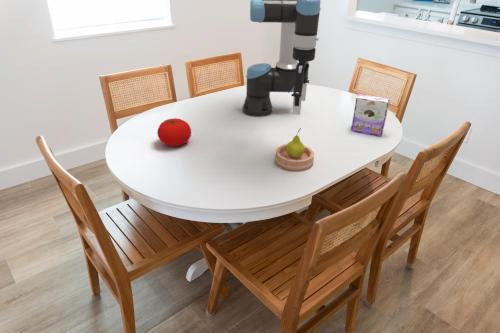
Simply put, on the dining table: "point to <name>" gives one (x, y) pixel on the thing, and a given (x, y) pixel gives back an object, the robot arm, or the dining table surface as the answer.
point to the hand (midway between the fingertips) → (298, 106)
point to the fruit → (295, 147)
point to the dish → (294, 159)
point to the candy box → (370, 114)
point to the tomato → (174, 132)
